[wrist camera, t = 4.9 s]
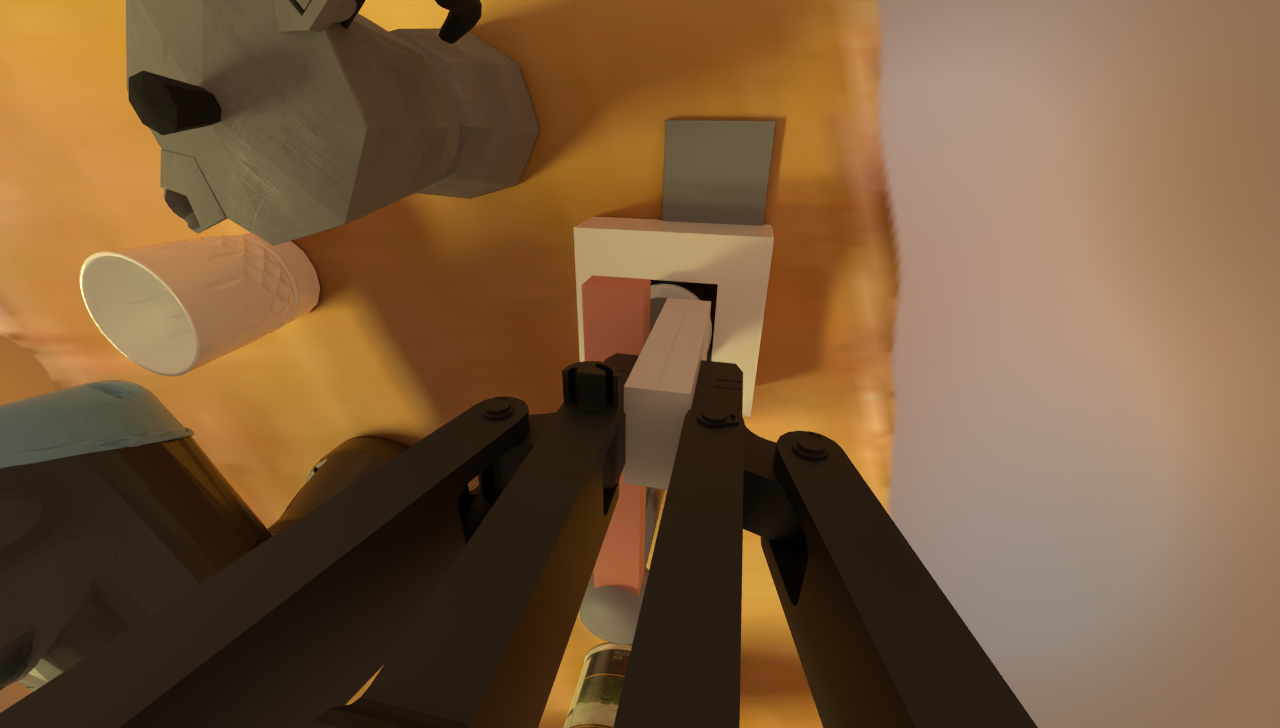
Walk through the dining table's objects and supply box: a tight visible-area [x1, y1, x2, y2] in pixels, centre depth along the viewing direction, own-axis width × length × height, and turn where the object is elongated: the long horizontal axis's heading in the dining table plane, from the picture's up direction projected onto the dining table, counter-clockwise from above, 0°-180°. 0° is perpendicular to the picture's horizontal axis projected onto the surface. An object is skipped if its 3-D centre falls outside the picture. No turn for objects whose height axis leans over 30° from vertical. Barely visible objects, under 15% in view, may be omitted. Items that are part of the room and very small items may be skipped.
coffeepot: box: [126, 0, 539, 246], centre depth 21 cm, size 15×9×18 cm, turn 128°
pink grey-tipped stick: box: [580, 275, 651, 644], centre depth 19 cm, size 17×3×2 cm, turn 179°
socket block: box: [573, 217, 774, 417], centre depth 30 cm, size 11×11×4 cm
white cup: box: [80, 233, 320, 376], centre depth 33 cm, size 8×8×10 cm
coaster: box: [662, 120, 776, 226], centre depth 28 cm, size 6×6×1 cm
